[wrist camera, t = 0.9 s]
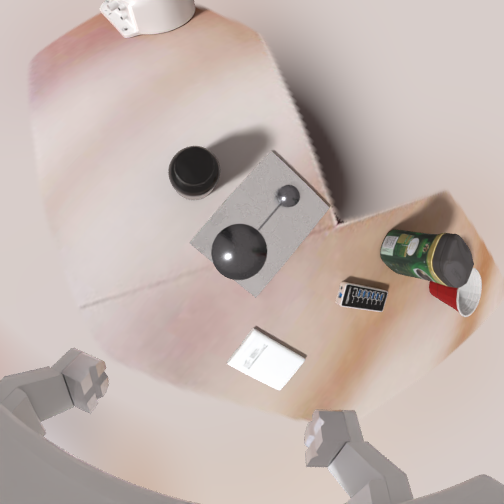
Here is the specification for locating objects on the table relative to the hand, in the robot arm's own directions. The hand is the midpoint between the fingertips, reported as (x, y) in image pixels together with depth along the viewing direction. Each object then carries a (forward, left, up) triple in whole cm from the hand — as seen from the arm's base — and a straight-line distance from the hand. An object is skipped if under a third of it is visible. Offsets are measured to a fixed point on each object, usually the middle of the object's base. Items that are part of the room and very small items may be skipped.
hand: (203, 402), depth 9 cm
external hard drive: (+21, -6, -36) cm, 42 cm away
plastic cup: (+46, +31, -36) cm, 66 cm away
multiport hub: (+28, +15, -36) cm, 48 cm away
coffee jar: (+29, +27, -36) cm, 53 cm away
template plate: (+4, +12, -35) cm, 38 cm away
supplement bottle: (-9, +10, -36) cm, 38 cm away
